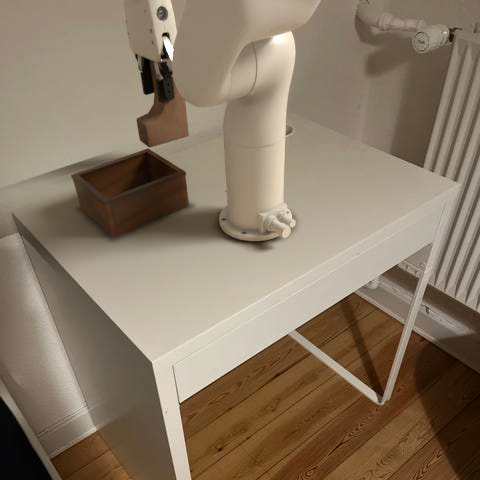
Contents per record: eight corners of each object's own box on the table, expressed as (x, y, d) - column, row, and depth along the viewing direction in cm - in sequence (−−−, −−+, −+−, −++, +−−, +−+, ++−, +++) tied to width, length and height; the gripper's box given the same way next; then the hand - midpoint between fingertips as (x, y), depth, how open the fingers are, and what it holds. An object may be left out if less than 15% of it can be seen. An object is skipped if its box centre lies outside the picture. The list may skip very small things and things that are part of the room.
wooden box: (189, 206, 93) (186, 171, 88) (113, 238, 86) (104, 202, 81) (153, 181, 100) (148, 148, 96) (80, 208, 93) (70, 174, 89)
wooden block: (149, 148, 97) (132, 46, 85) (139, 140, 100) (121, 40, 88) (189, 136, 101) (179, 36, 88) (179, 129, 104) (167, 31, 91)
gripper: (191, -15, 79) (201, 103, 92) (137, -28, 89) (152, 80, 101) (150, -8, 76) (166, 115, 88) (98, -22, 86) (119, 90, 98)
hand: (159, 95), depth 95 cm, fingers closed on wooden block, 4 cm apart
